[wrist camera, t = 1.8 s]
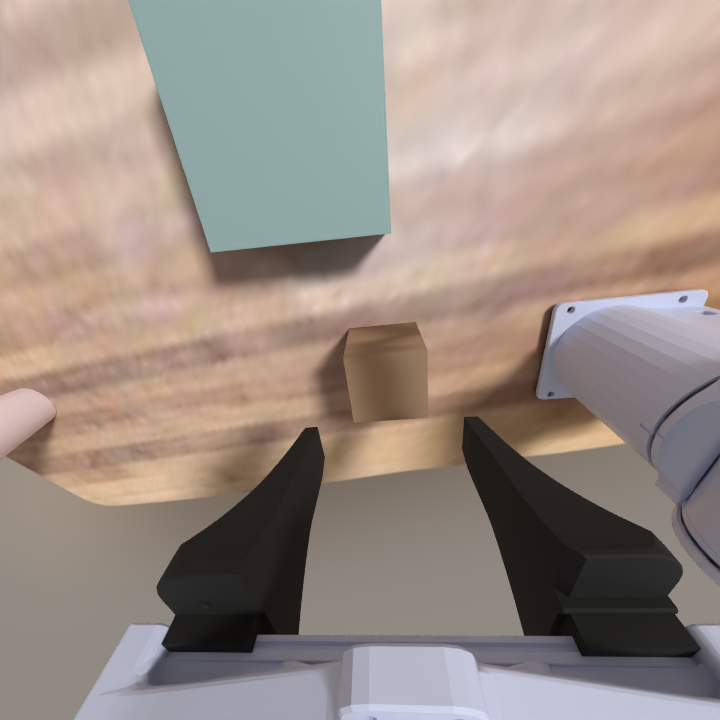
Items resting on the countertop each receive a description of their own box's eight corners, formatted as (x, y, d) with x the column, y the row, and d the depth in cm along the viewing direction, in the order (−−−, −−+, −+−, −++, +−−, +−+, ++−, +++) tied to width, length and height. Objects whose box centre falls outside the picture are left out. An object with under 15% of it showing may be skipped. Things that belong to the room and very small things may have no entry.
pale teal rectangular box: (376, 5, 13) (377, -72, 10) (387, 230, 18) (390, 233, 14) (184, 39, 14) (121, -21, 11) (241, 245, 19) (210, 252, 15)
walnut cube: (415, 321, 20) (427, 350, 16) (416, 378, 23) (427, 417, 18) (349, 328, 21) (343, 357, 16) (357, 383, 23) (353, 422, 19)
